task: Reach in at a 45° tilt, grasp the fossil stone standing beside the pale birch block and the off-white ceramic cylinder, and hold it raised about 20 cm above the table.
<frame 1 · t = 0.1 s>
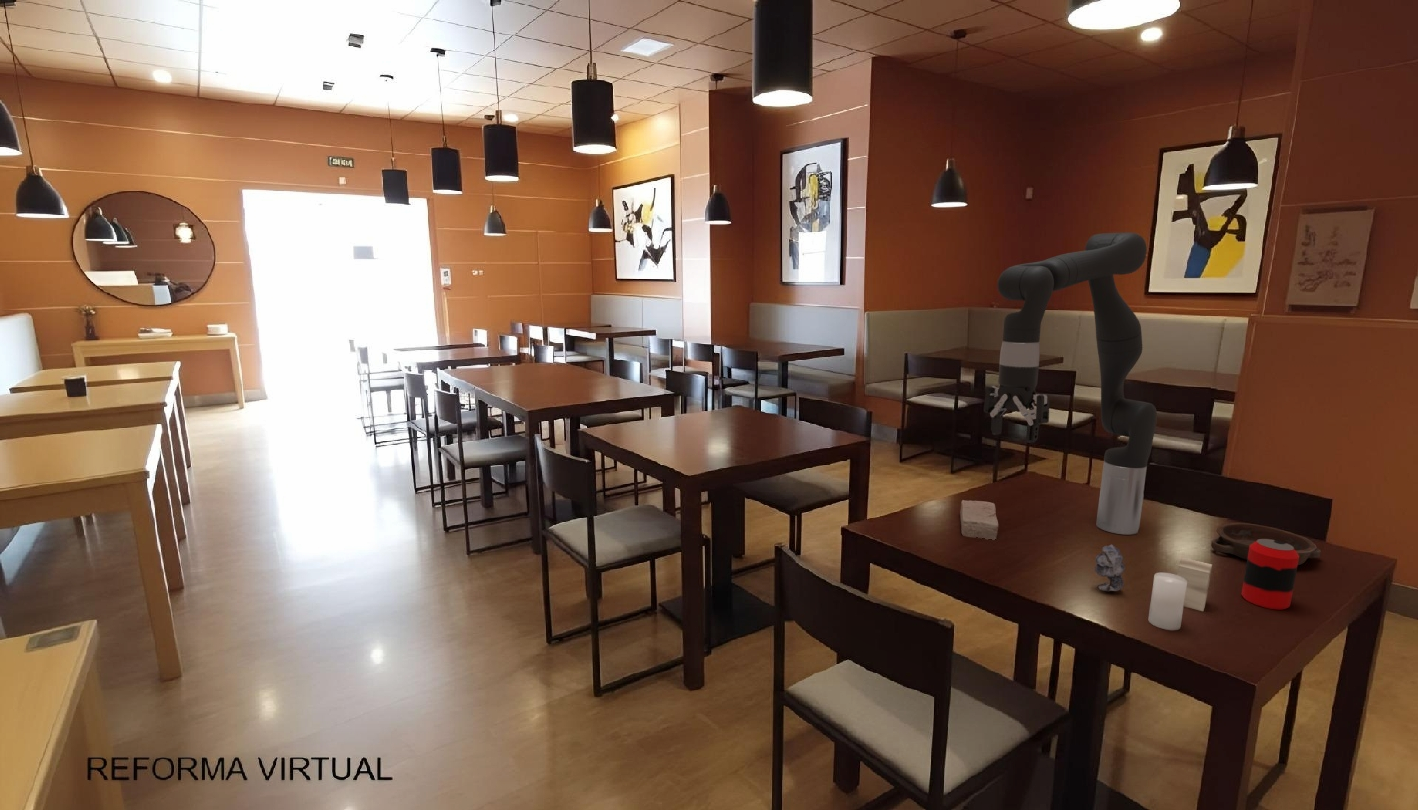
hand: (1013, 438, 146), 29 cm above the table, tool pointing down, fingers open, 8 cm apart
ceramic cylinder: (1164, 623, 127), on the table
brick: (978, 528, 174), on the table
birch block: (1189, 602, 134), on the table
dish: (1261, 557, 157), on the table
fossil stone: (1107, 591, 140), on the table
soda can: (1264, 601, 135), on the table
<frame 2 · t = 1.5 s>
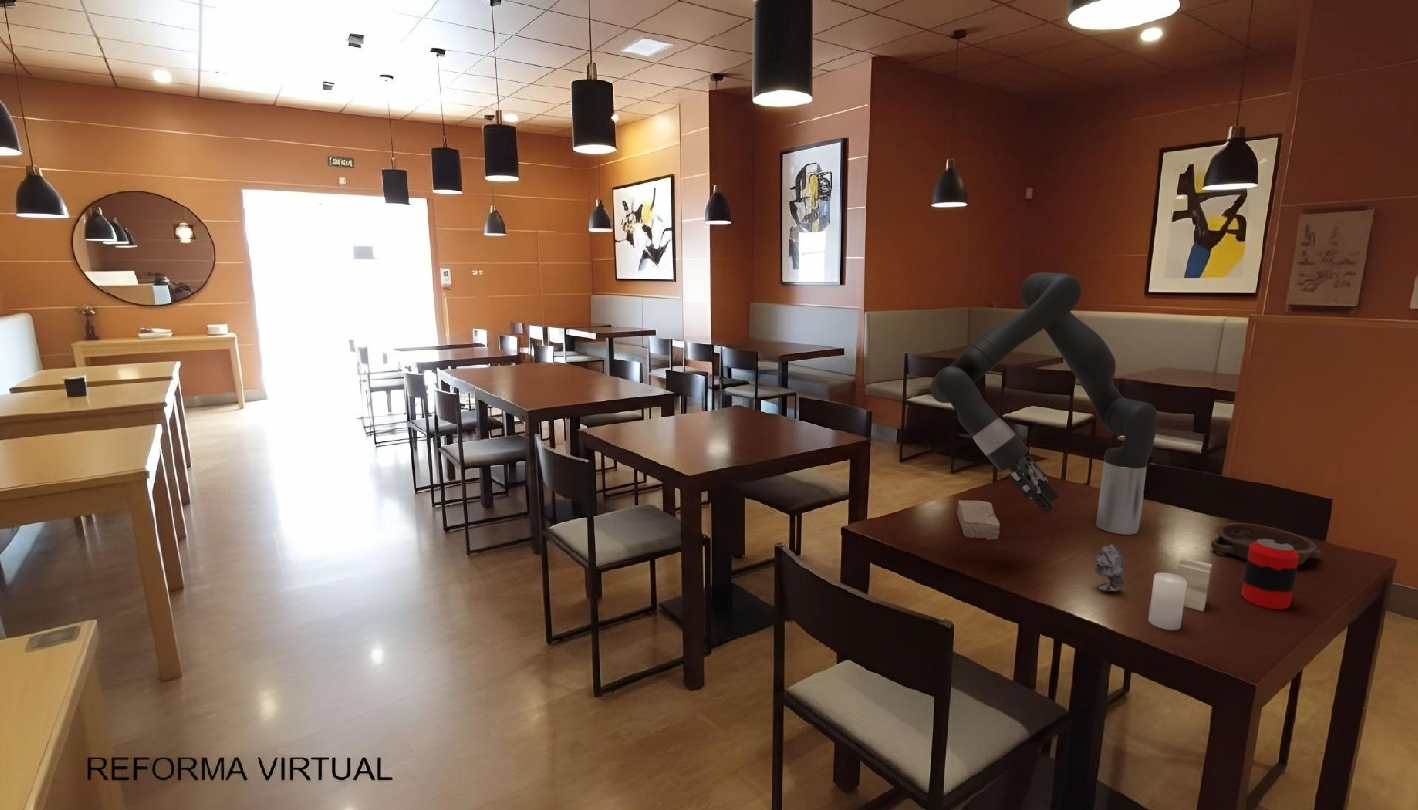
hand: (1052, 504, 143), 16 cm above the table, tool tilted 45°, fingers open, 8 cm apart
nothing on the table moved.
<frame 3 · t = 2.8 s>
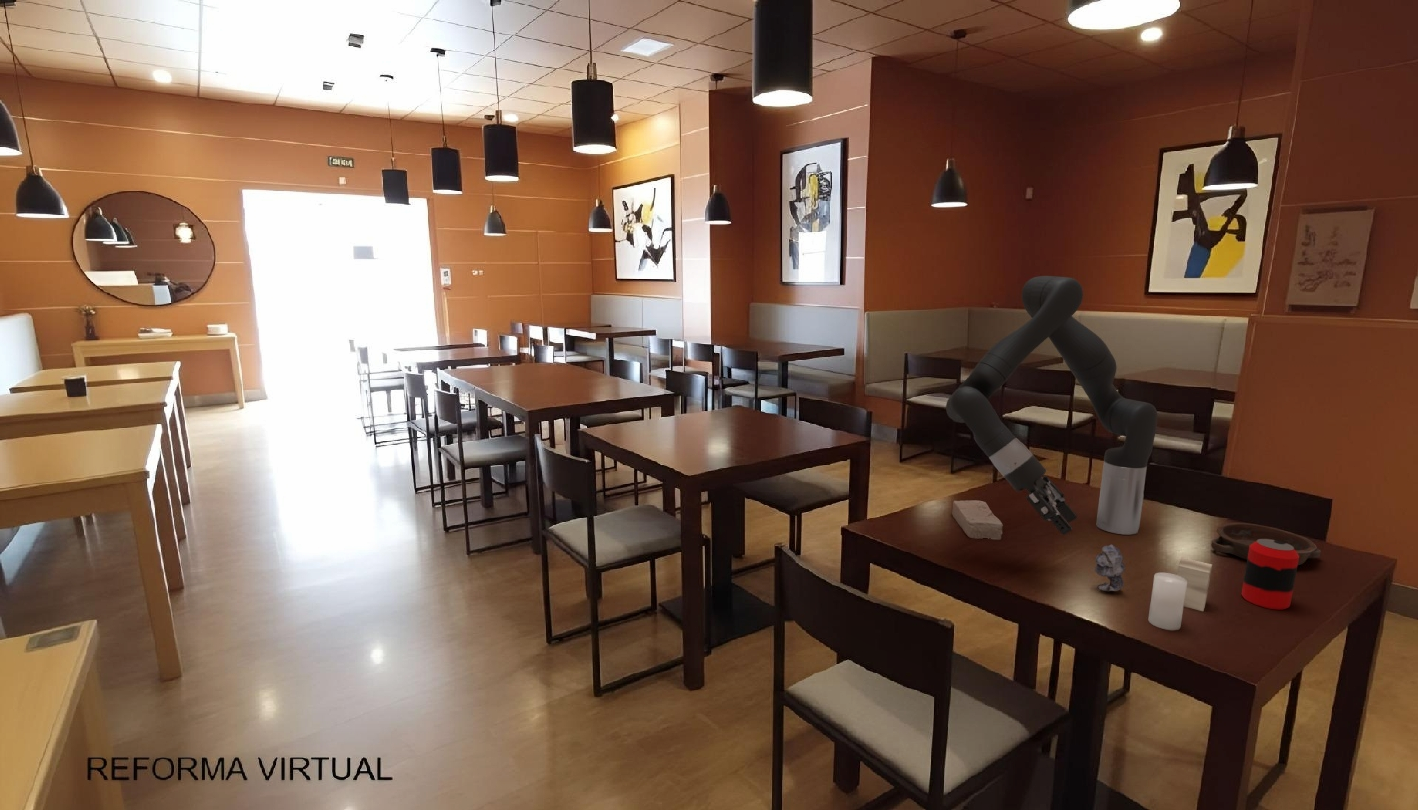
hand: (1070, 525, 141), 12 cm above the table, tool tilted 45°, fingers open, 8 cm apart
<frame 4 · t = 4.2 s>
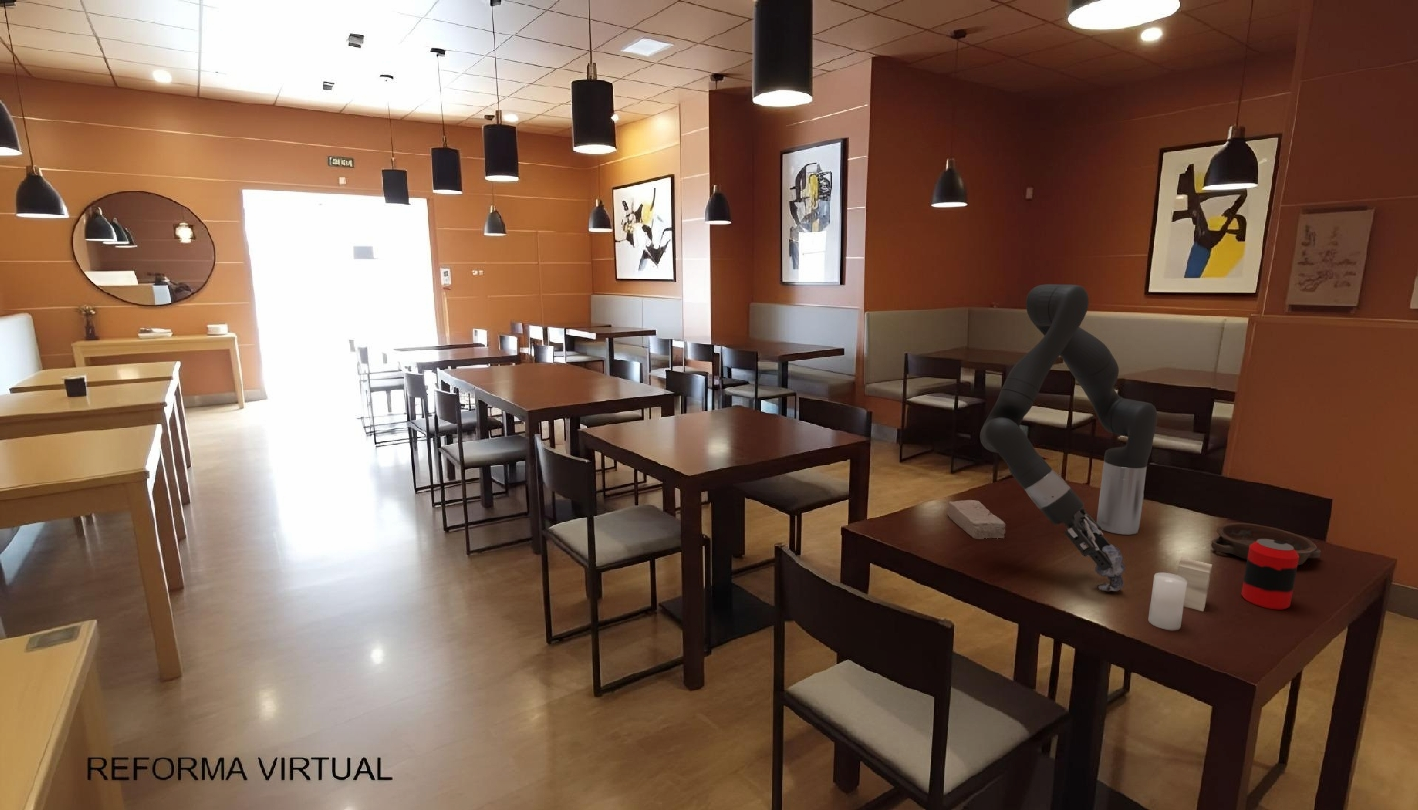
hand: (1109, 560, 138), 6 cm above the table, tool tilted 45°, fingers open, 8 cm apart
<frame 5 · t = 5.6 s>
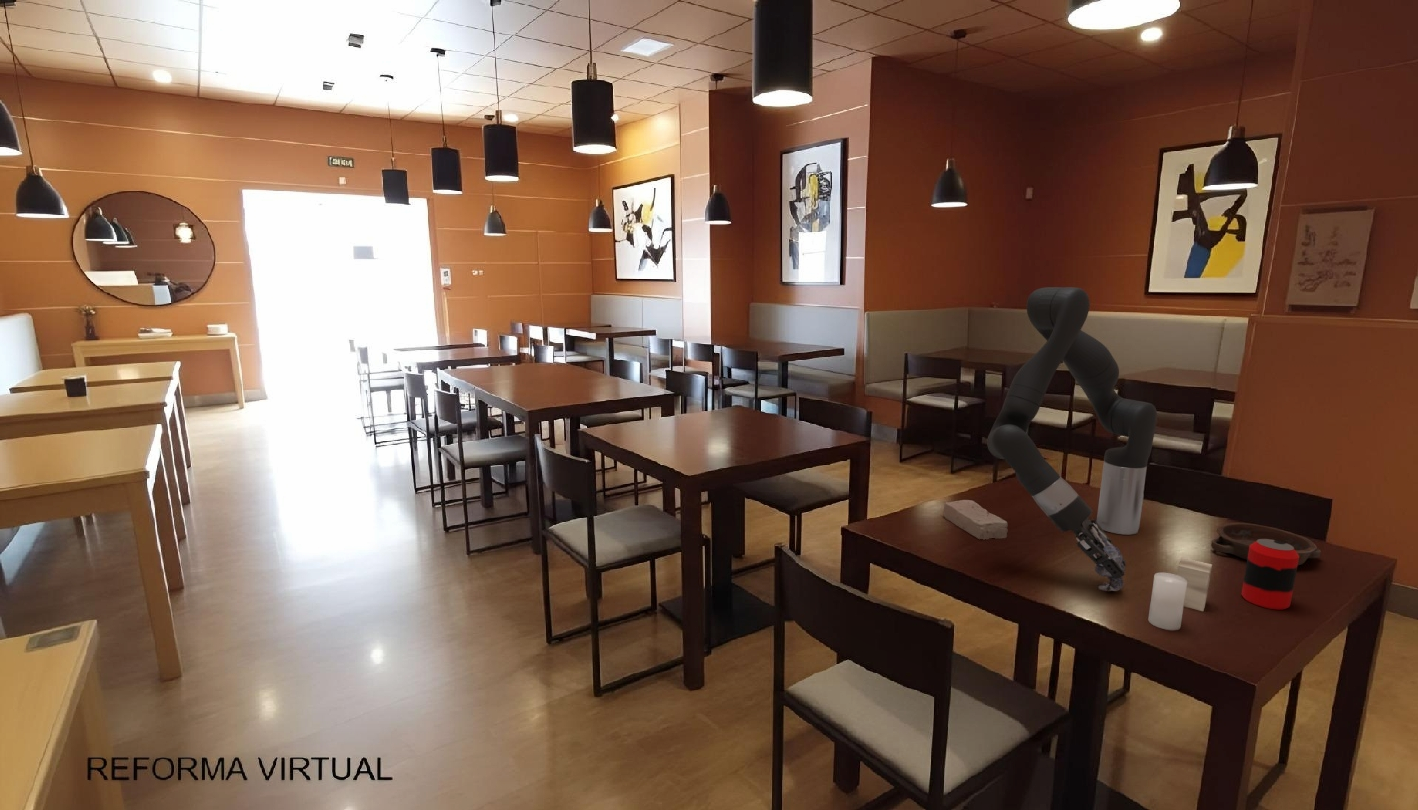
hand: (1120, 571, 138), 5 cm above the table, tool tilted 45°, fingers closed on fossil stone, 4 cm apart
fossil stone: (1107, 591, 140), on the table, touching gripper
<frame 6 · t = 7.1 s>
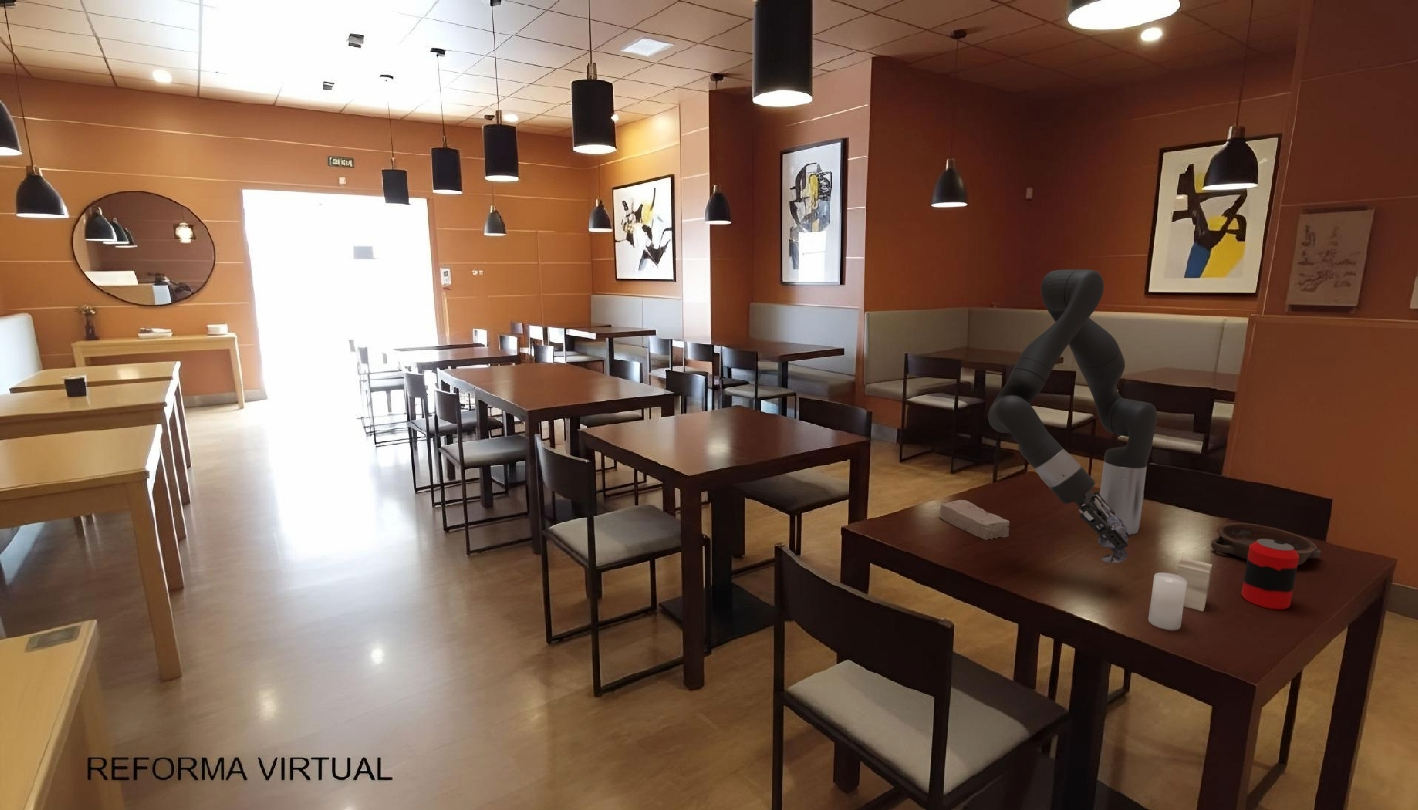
hand: (1124, 542, 137), 11 cm above the table, tool tilted 45°, fingers closed on fossil stone, 4 cm apart
fossil stone: (1110, 562, 139), point 6 cm above the table, touching gripper
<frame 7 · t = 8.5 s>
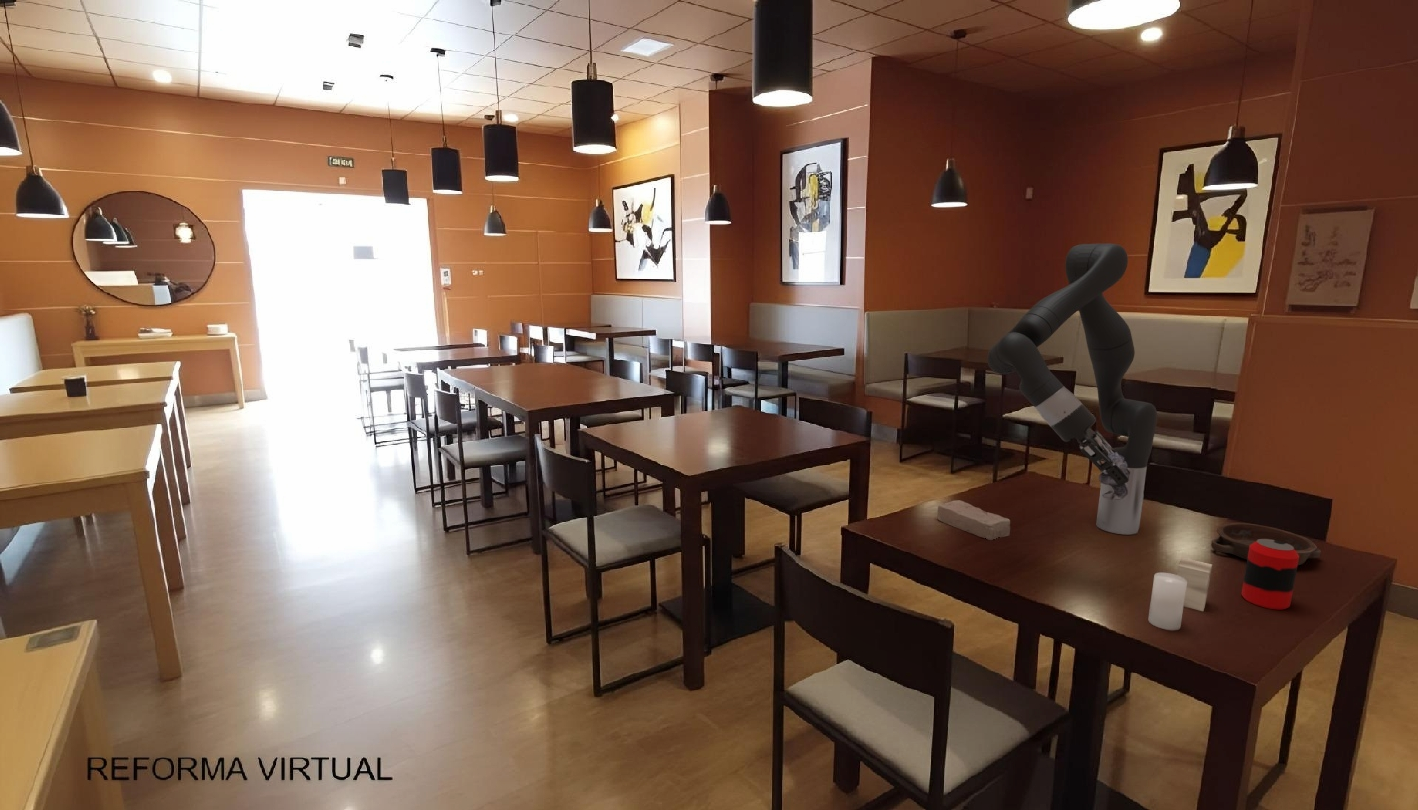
hand: (1125, 479, 136), 23 cm above the table, tool tilted 45°, fingers closed on fossil stone, 4 cm apart
fossil stone: (1111, 500, 138), point 19 cm above the table, touching gripper
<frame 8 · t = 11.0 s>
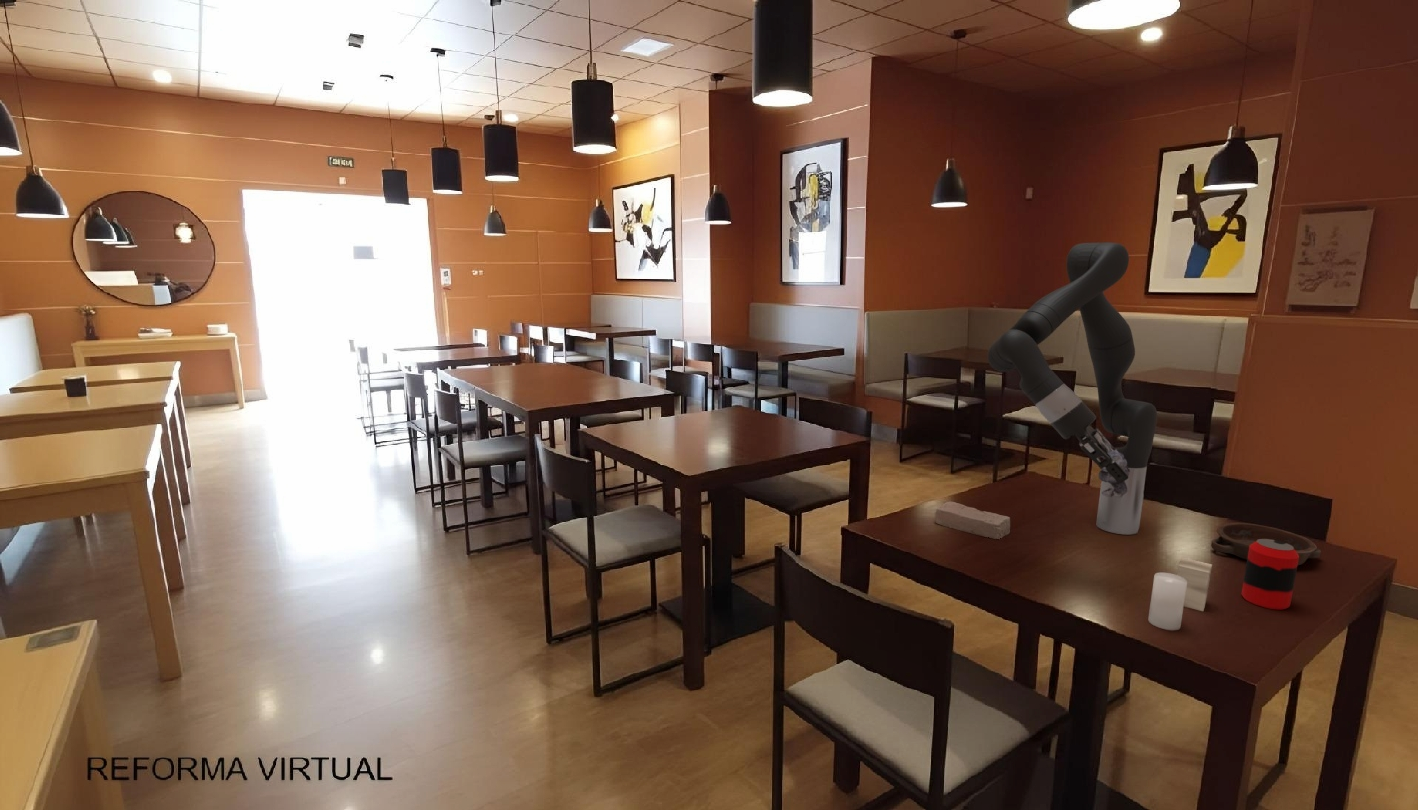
hand: (1124, 476, 136), 24 cm above the table, tool tilted 45°, fingers closed on fossil stone, 4 cm apart
fossil stone: (1111, 497, 138), point 19 cm above the table, touching gripper
at the end: the gripper is holding fossil stone; fossil stone point 19.1 cm above the table; ceramic cylinder moved 0.0 cm from its start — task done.
